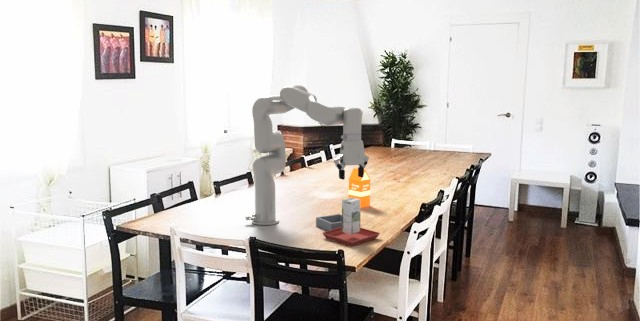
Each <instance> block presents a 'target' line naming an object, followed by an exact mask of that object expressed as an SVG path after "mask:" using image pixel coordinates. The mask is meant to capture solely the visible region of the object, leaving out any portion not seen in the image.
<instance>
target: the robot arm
mask: <svg viewBox="0 0 640 321" xmlns="http://www.w3.org/2000/svg"><path fill="white" fill-rule="evenodd" d="M251 109H252V110H251V111H252V112H251V113H252V114H251V115H252V118H253V134H254V135H253V136H254V147H255V150H256V152H258V153H260V154H267V153H268V155H263V156H259V157H257V158H256V159H255V160H254V161H253V163H252V173H253V178H254V203H255V204H254V210H255V211H254V212H253V213H252V214H251V215H246V216H245V221H251V222H252V224H254V225H258V226H272V225H277V224H278V223H279V222H280V220H279V218H278V217H276V183H275V180H274V177H273V176H274V175H279V174H281V173H283V172H284V170H285V169H286V163H287V162H286V161H287V159H286V157H287V156H286V143H285V142H286V141H285V138H284V136H283V134H282V133H280V132H278V131H274V130H273V121H272V118H271V117H270V115H279V114H281V115H282V114H286V113H288V112H290V111H292V110H294V109H297V110H298V111H301V112H303V113H306V116H308V117H309V118H310V119H312V120H313V121H315V122H317V123H320V124H321V125H324V126H325V125H326V126H337V125H342V128H343V130H342V135H341V136H340V139H342V141H341V144H340V150H339V155H338V156H337V157H336V158H334V160H333V163H334V164H335V167H336V168H337V170H338V178H339V179H340V180H345V179H346V178H345V177H346V176H345V174H346V173H345V172H346V170H345V168H346V167H347V166H348V167H349V166H359V167H358V168H357V169H358V176H359V177H364V170H365V168H366V166H367V165H368V163H369V160H370V156H368V155H366V154H365V146H364V142H363V140H362V112H363V111H362V110H361V108H358V107H344V106H326V105H324V104H321V103H319V102H318V99H317V97H316V95H315V94H312V93H310V92H309V91H308V90H307V88H306V87H305V86H303V85H298V84H297V85H294V84H293V85H290V84H289V85H286V86H283V87H282V88H281V90H280V91H279V94H278V95H264V96H261V97H259V98H257V99H256V100H255V102H254V103H253V105H252V108H251Z"/></svg>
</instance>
